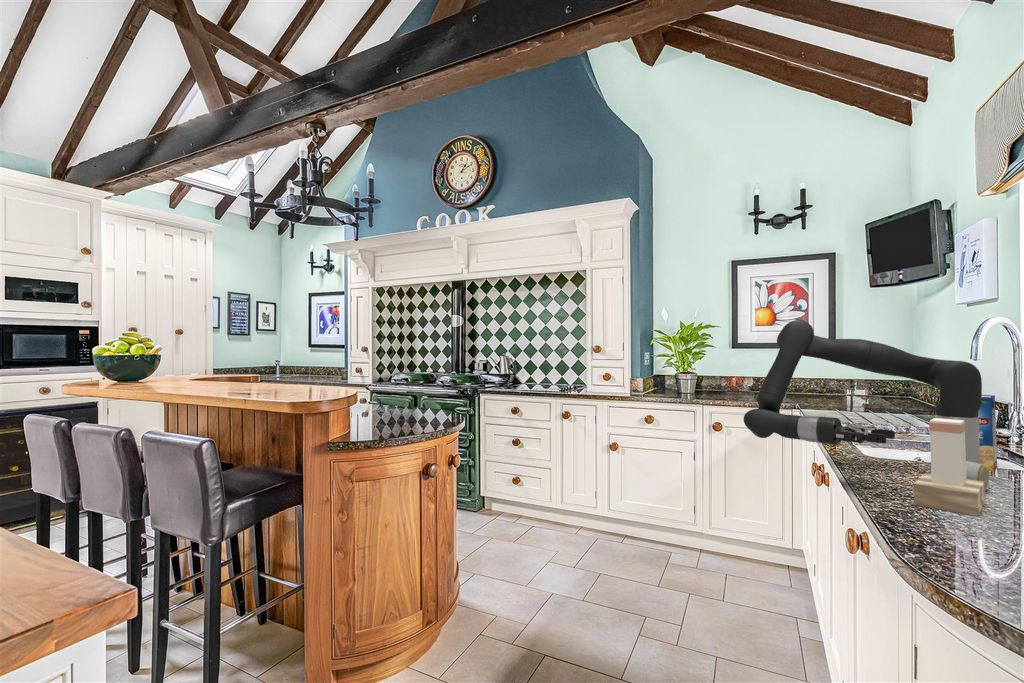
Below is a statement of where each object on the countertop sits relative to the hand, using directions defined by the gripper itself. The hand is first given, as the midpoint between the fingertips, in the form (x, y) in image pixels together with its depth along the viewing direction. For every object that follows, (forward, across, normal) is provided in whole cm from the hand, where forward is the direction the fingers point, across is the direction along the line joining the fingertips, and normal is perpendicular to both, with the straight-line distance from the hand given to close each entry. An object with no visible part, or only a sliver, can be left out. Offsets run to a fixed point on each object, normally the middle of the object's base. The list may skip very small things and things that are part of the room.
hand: (890, 437), depth 123 cm
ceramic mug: (+12, +19, +15) cm, 27 cm away
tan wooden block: (+11, 0, +14) cm, 18 cm away
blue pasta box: (+10, +50, +15) cm, 53 cm away
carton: (+11, 0, +10) cm, 15 cm away
